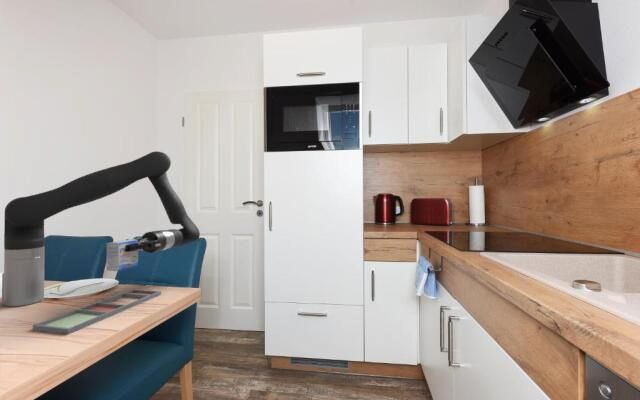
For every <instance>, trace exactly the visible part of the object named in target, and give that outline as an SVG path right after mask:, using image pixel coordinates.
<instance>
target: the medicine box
mask: <svg viewBox="0 0 640 400" xmlns="http://www.w3.org/2000/svg"><path fill="white" fill-rule="evenodd" d="M122 240H123V239H122ZM122 240H117V241H111V242H107V243H106V271H110V272H121V271H126V270H128V269H131V268H135V267H138V265H139V251H137V250H136V251H131V252H126V251H125V249H126V245H129V244H134V243H138V240H126V239H124V240H123V241H122Z"/></svg>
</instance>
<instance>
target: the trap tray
mask: <svg viewBox="0 0 640 400" xmlns="http://www.w3.org/2000/svg"><path fill="white" fill-rule="evenodd" d="M159 296H162V291H161V290H153V289H152V290H150V289H149V290H148V289H139V288H138V289H136V288H133V289H129V290H127V291H125V292H121V293H119V294H116V295H113V296H110V297H108V298H104V299H102V300H99V301H96V302H93V303H91V304H87V305H85V306H82V307H79V308H77V309H74V310H71V311H68V312H65V313H63V314H60V315H57V316H55V317H51V318H48V319H46V320H43V321H40V322H37V323H34V324H33V325H32V330H33V331H38V332H39V331H40V332H46V333H47V332H48V333H55V334H56V333H57V334H63V335H69V334H72V333H76V332H77V331H79V330H82V329H84V328H86V327H89V326H91V325H93V324H96V323H98V322H99V321H103V320H105V319H107V318H110V317H112V316H115V315H116V314H119V313H121V312H123V311H124V312H125V311H126V310H129V309H131V308H133V307H135V306H139V305H140V304H142V303H144V302H147V301H149V300H152V299H154V298H157V297H159ZM122 298H132V299H136V300H134V301H132V302H129V303H127V304H121V303H111V302H114V301H115V300H119V299H122ZM76 313H84V314H94V315H100V316H97V317H95V318H92V319H90V320H87V321H85V322H82V323H80V324H78V325H75V326H73V327H70V328H64V327H56V326H47V325H46V324H49V323H52V322H54V321H57V320H60V319H63V318H65V317H68V316H71V315H73V314H76Z"/></svg>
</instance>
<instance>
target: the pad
mask: <svg viewBox="0 0 640 400" xmlns="http://www.w3.org/2000/svg"><path fill="white" fill-rule="evenodd" d="M97 316H100V315H94V314H84V313H76V314H73V315H71V316H68V317H65V318H63V319H60V320H57V321H54V322H52V323H49V324H46V325H47V326H56V327H64V328H70V327H73V326H75V325H78V324H80V323H82V322H85V321H87V320H90V319H92V318H95V317H97Z"/></svg>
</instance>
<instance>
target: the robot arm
mask: <svg viewBox="0 0 640 400" xmlns="http://www.w3.org/2000/svg"><path fill="white" fill-rule="evenodd" d="M171 163H172V161H171V157H170V156H169V155H168V154H166V153H165V152H162V151H151V152H150V153H149V152H148V153H147V154H145V155H143V156H141V157H138V158H136V159H134V160H132V161H128V162H125V163H122V164H117V165H115V166H114V165H113V166H110V167H107V168H104V169H100V170H97V171H94V172H91V173H88V174H85V175H82V176H79V177H78V178H76V179H73V180H70V181H69V182H67V183H65V184H63V185H60V186H59V187H56V188H54V189H50V190H46V191H43V192H40V193H36V194H31V195H28V196H20V197H17V198H14V199H12V200H11V201H9V202H8V203H7V204H6V206H5V208H4V233H3V234H4V236H3V246H4V247H3V249H4V250H3V251H4V252H3V255H4V256H3V259H4V260H3V273H2V274H1V305H2V304H3V306H4V307H20V306H27V305H32V304H35V303H39V302H42V301H43V300H44V299H45V245H46V244H45V243H46V242H45V241H46V239H45V220H46V219H49V218H51V217H53V216H55V215H57V214H59V213H62V212H64V211H66V210H70V209H72V208H74V207H79V206H82V205H85V204H86V205H87V204H89V203H91V202H95V201H98V200H100V199H103V198H105V197H108V196H110V195H113V194H115V193H117V192H120V191H121V190H123V189H125V188H127V187H129V186H130V185H132V184H134V183H136V182H138V181H139V180H143V179H146V178H148V180H149V182H150V183H151V185H152V186H153V188H154V190H155V192H156V193H157V195H158V198H159V200H160V203H161V204H162V206H163V208H164V211H165V212H166V215H167V218H168V220H169V222H170V224H172V225H180V226H181V227H182V228H178V229H175V228H173V229H160V230H159V229H158V230H152V231H148V232H144V233H143V234H142V236H141V237H137V238H133V239H129V238H127V239H125V240H138V243H134V244H129V245H126V249H125V251H126V252H131V251H136V250H137V251H138V252H139V251H141V252H143V251H144V252H146V253H148V254H154V253H157V252H162V251H166V250H168V249H171V248H176V247H181V246H185V245H189V244H191V243H195V242H197V241H198V240H199V239H200V235H201V234H200V230H199V228H198V227H197V225H196V224H195V222H193V220H192V219H191V217H190V216H189V215H188V213H187V210H186V208H185V206H184V204H183V202H182V200H181V198H180V197H179V195H178V194H177V192H176V191H175V190H174V189H173V187H172V185H171V183H170V180H169V178H168V175H167V172H168V171H169V169H170V168H171V165H172V164H171ZM121 241H123V239H122V240H121Z"/></svg>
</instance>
